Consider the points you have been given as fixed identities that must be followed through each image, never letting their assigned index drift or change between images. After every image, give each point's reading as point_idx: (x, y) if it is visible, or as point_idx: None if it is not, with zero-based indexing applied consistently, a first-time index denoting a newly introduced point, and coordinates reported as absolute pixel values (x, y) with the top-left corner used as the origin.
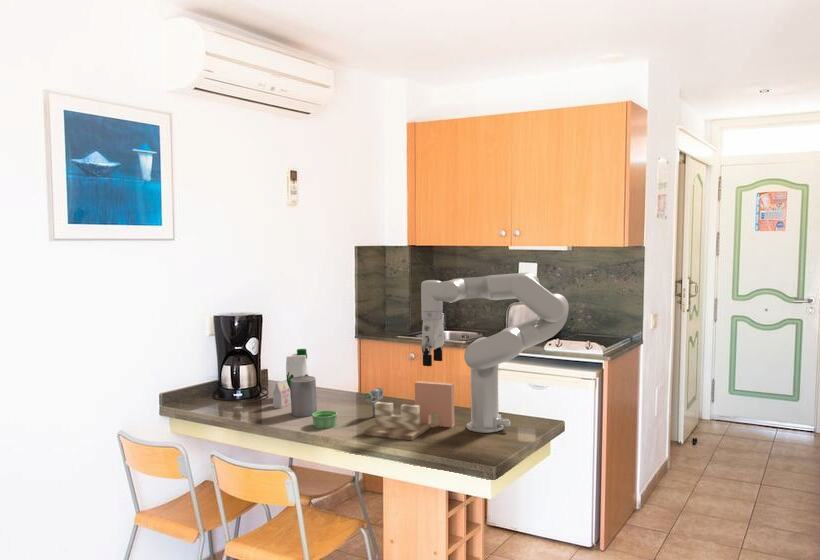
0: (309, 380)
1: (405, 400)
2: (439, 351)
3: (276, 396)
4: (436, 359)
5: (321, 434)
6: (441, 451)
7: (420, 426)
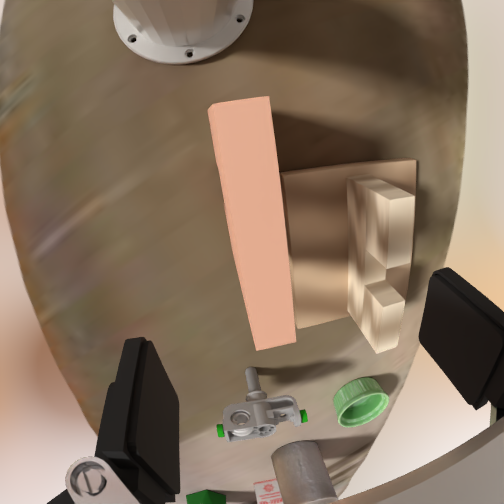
0: (321, 499)
1: (76, 390)
2: (147, 451)
3: None
4: (169, 389)
5: (410, 356)
6: (443, 50)
7: (326, 188)
